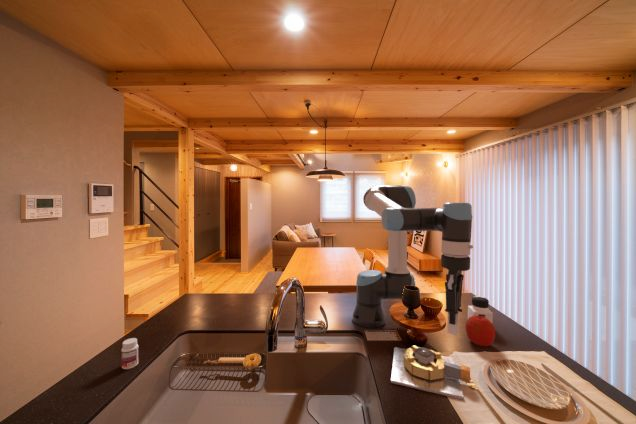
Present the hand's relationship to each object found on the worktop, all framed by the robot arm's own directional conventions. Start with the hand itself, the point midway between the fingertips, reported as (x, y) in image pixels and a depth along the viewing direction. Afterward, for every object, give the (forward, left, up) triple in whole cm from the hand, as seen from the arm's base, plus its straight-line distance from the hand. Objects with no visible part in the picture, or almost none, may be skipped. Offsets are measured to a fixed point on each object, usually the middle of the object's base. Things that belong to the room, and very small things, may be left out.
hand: (452, 333), depth 76 cm
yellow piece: (-4, +6, -16) cm, 17 cm away
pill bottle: (-101, -25, -17) cm, 106 cm away
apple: (+15, +33, -17) cm, 40 cm away
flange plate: (-7, +7, -17) cm, 20 cm away
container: (+19, +51, -17) cm, 57 cm away
